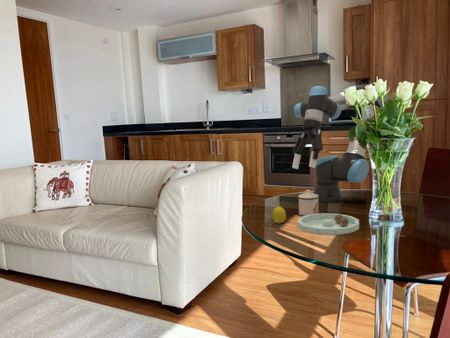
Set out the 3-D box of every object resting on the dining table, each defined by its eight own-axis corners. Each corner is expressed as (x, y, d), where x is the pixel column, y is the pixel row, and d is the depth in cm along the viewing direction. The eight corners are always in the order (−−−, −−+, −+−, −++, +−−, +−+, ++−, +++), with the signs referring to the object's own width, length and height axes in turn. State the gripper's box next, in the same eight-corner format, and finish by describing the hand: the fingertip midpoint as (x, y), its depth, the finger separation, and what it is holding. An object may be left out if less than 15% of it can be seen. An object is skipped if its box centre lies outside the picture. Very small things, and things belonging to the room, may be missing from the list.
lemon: (272, 226, 149) (271, 207, 148) (273, 223, 154) (272, 204, 153) (286, 226, 148) (285, 207, 147) (286, 223, 153) (285, 204, 152)
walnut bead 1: (337, 221, 148) (337, 213, 148) (345, 222, 145) (345, 214, 145) (333, 223, 146) (332, 214, 145) (340, 224, 143) (340, 216, 143)
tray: (319, 217, 159) (319, 209, 159) (370, 226, 142) (370, 217, 142) (286, 229, 144) (286, 220, 144) (338, 241, 127) (338, 231, 126)
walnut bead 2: (342, 224, 143) (342, 215, 143) (350, 225, 141) (350, 217, 140) (337, 226, 141) (337, 217, 141) (345, 228, 138) (345, 219, 138)
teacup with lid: (318, 218, 158) (317, 192, 156) (297, 217, 161) (296, 191, 160) (320, 211, 169) (320, 187, 167) (301, 211, 172) (300, 186, 171)
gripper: (290, 123, 170) (281, 166, 168) (322, 113, 147) (312, 164, 144) (304, 127, 173) (295, 170, 170) (337, 119, 149) (327, 168, 147)
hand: (303, 167), depth 157 cm, fingers open, 13 cm apart
